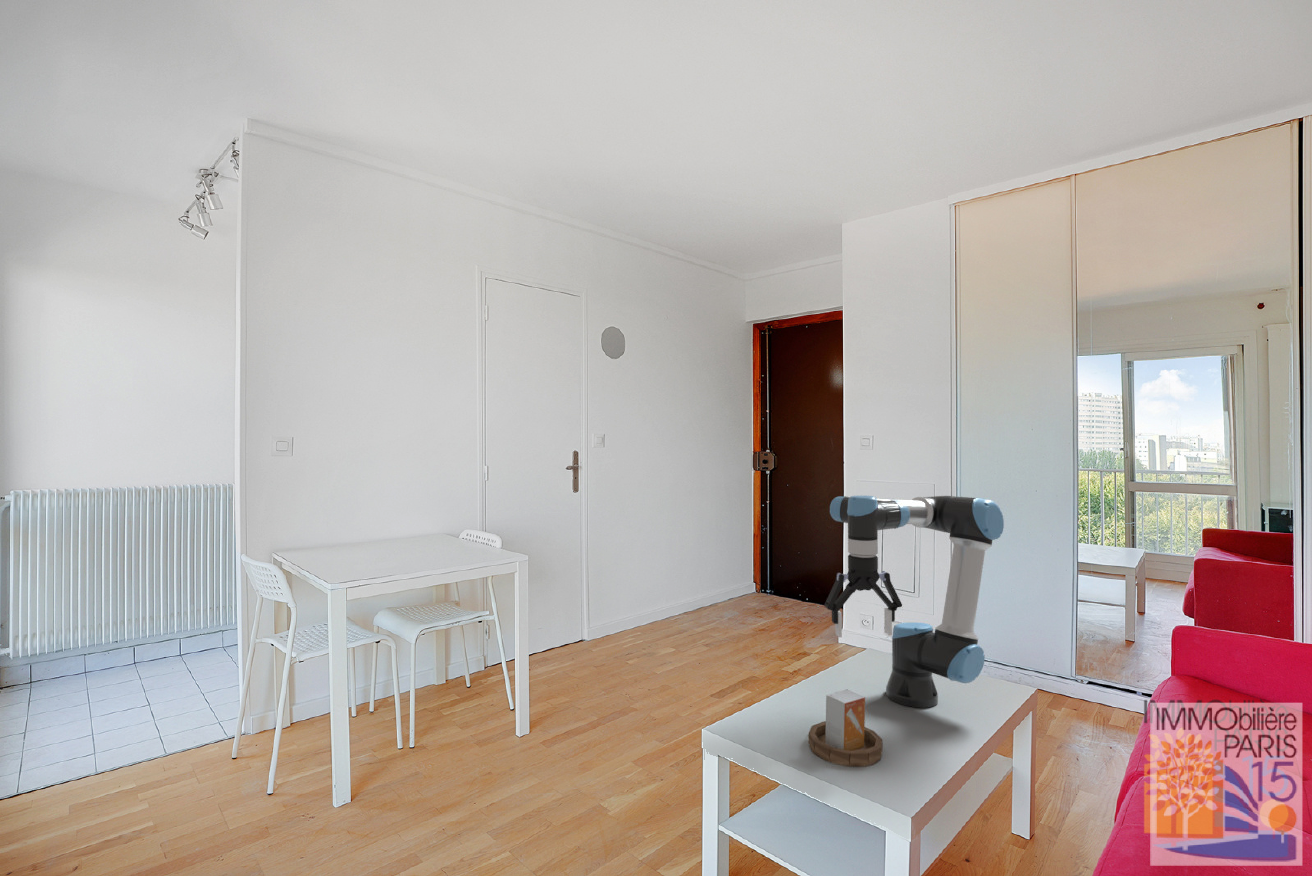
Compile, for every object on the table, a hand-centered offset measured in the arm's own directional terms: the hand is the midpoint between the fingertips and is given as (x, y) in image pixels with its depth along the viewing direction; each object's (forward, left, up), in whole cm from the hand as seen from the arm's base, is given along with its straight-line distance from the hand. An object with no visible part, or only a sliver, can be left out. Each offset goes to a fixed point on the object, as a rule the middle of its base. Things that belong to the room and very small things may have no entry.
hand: (863, 634), depth 167 cm
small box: (+5, +2, -28) cm, 29 cm away
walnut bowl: (+5, +2, -29) cm, 30 cm away
